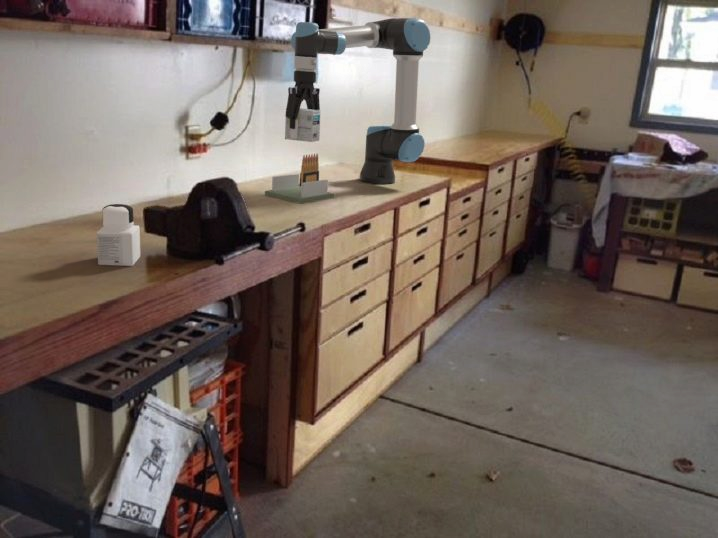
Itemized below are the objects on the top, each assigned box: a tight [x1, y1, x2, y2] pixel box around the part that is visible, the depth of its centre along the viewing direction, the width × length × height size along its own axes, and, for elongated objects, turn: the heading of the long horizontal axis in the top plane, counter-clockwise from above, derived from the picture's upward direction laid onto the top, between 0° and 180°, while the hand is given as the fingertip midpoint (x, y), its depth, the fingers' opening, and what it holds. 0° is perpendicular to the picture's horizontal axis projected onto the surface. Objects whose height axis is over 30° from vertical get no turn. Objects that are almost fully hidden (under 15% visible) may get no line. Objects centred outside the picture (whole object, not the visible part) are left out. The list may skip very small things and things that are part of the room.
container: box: [96, 203, 141, 267], centre depth 153 cm, size 8×8×13 cm
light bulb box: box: [284, 107, 321, 143], centre depth 234 cm, size 11×7×11 cm, turn 71°
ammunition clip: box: [299, 153, 320, 186], centre depth 264 cm, size 11×2×12 cm, turn 149°
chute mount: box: [264, 173, 335, 204], centre depth 241 cm, size 18×17×6 cm
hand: (302, 137), depth 236 cm, fingers closed on light bulb box, 8 cm apart
